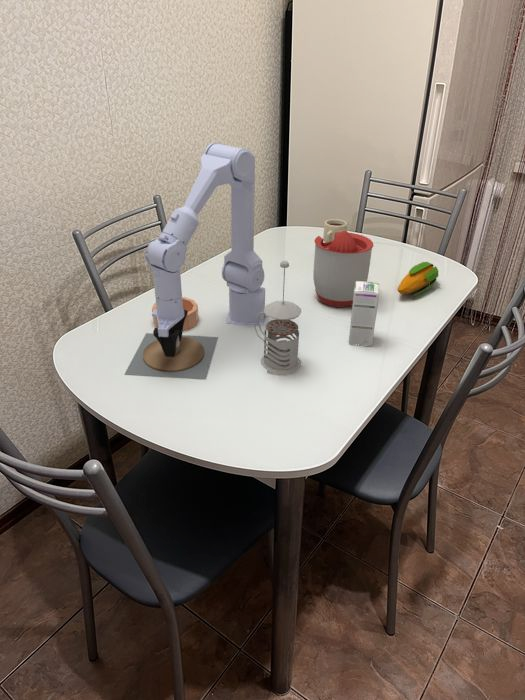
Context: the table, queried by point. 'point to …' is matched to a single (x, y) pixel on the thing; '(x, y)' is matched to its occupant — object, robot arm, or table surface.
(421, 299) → the table surface
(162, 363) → the lid
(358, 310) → the syrup box
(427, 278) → the corn
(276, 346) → the french press
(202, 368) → the mat
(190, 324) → the bowl
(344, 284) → the citrus juicer
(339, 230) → the character mug
